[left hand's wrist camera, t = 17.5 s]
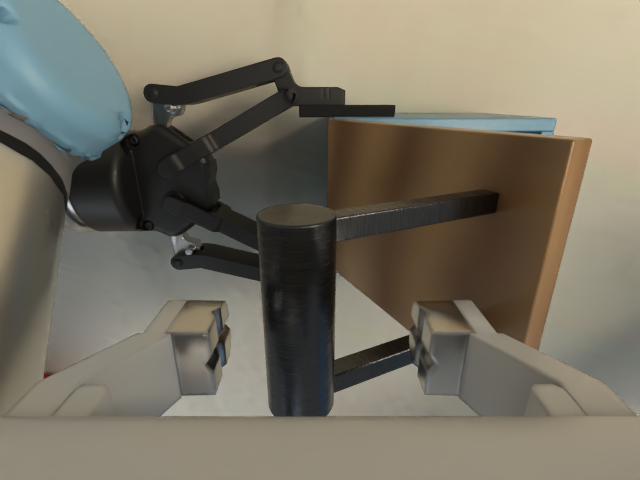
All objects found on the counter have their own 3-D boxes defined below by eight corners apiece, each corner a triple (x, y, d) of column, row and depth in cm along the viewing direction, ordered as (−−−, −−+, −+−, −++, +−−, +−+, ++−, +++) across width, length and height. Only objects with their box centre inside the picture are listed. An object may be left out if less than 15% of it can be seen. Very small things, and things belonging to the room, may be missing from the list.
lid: (594, 138, 10) (291, 160, 6) (525, 403, 13) (301, 520, 10) (341, 118, 22) (184, 122, 18) (338, 261, 25) (205, 289, 22)
